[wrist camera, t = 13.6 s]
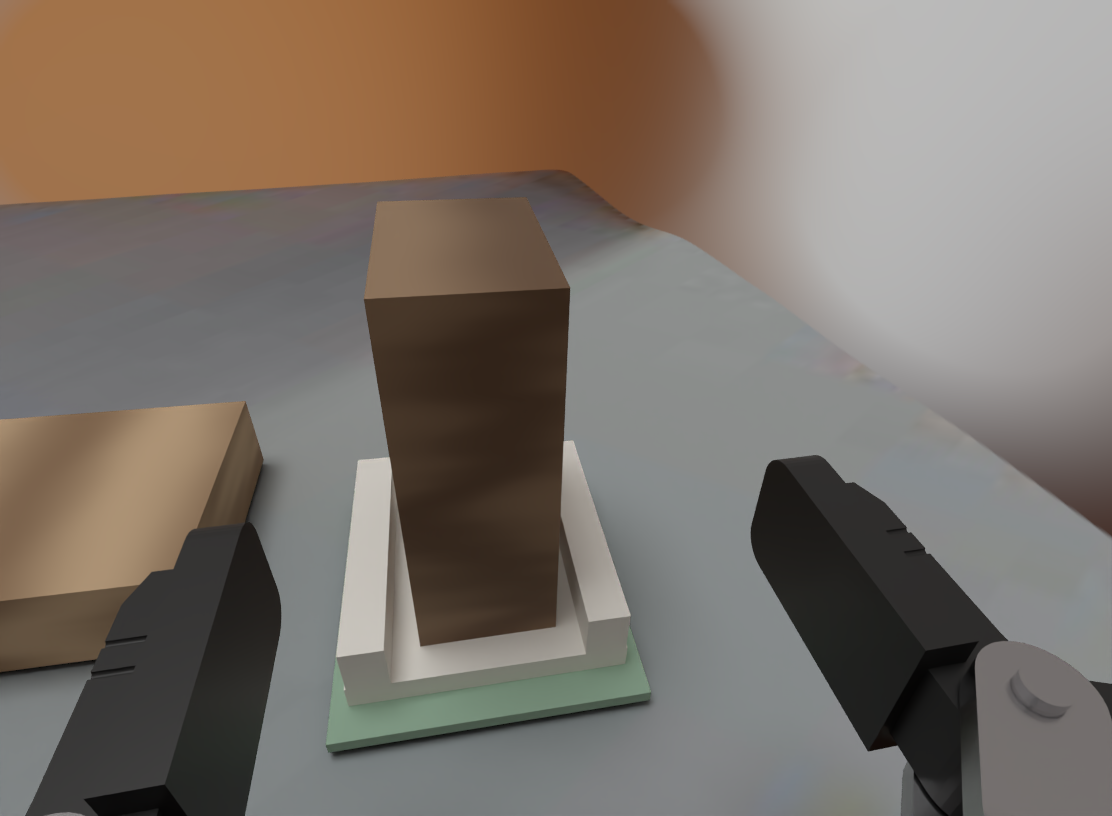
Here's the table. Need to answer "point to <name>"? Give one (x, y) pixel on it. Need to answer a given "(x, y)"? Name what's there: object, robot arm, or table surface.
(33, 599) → the flat wooden block
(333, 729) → the mat
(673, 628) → the table surface
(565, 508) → the rack
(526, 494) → the tall wooden pillar
